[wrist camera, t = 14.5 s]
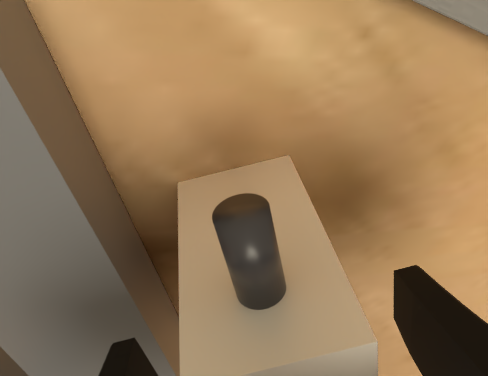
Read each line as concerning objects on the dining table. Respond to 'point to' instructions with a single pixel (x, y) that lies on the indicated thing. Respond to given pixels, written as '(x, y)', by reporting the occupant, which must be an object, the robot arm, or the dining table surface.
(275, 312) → the plug
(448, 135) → the dining table surface
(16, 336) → the power block
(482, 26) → the electrical outlet
